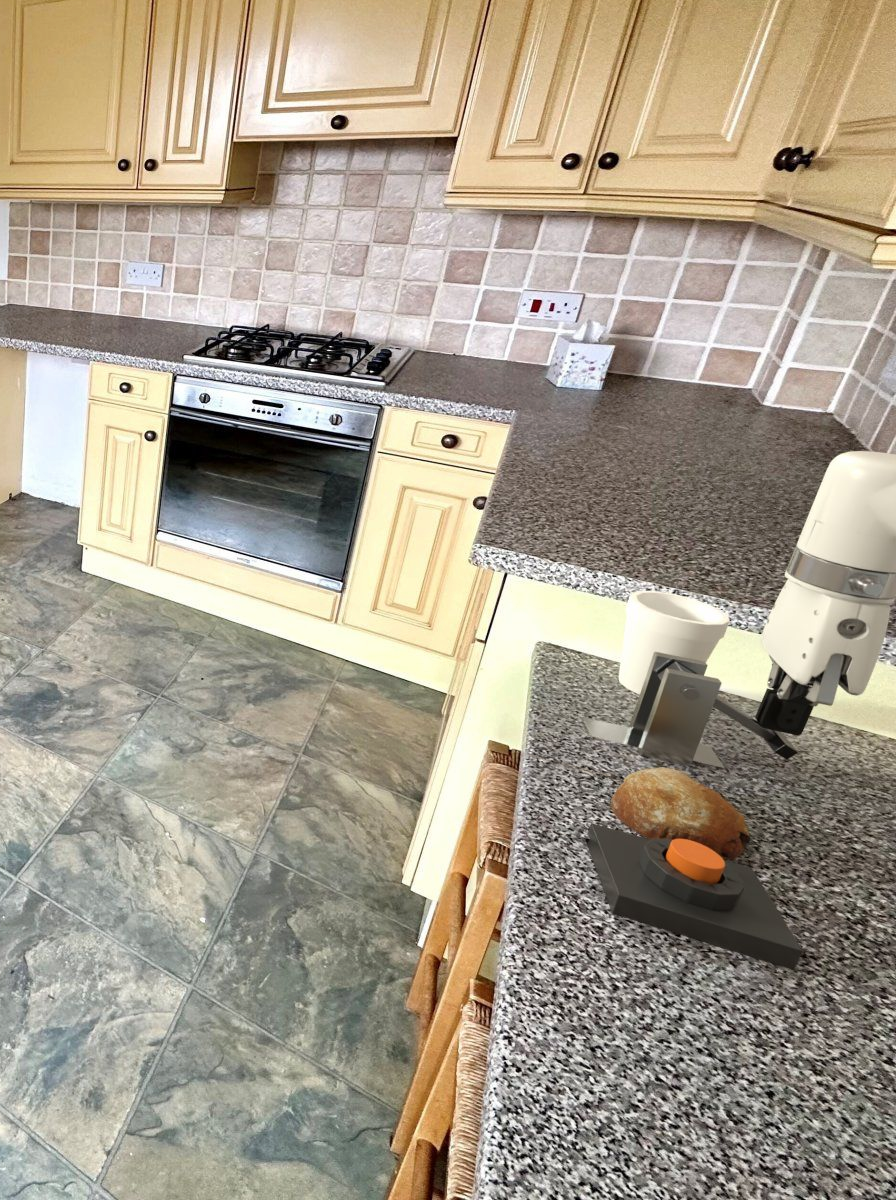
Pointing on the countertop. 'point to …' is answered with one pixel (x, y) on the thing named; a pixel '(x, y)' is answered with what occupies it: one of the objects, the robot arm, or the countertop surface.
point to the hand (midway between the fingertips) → (777, 727)
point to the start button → (695, 860)
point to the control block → (690, 898)
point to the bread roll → (679, 811)
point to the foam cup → (666, 632)
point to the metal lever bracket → (668, 714)
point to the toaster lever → (748, 722)
